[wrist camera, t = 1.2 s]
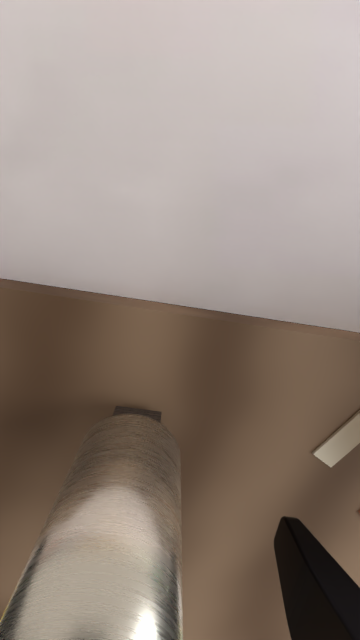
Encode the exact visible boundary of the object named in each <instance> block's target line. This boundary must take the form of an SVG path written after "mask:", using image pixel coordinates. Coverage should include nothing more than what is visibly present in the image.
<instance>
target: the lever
mask: <svg viewBox="0 0 360 640" xmlns="http://www.w3.org/2000/svg"><path fill="white" fill-rule="evenodd" d="M0 640H183V608H182V533H181V458H180V449H179V446H178V443H177V441H176V439H175V437H174V436H173V434H172V433H171V432H170V431H169V430H168V429H167V428H166V427H165V426H163V425H162V424H161V412H160V411H152V410H145V409H137V408H129V407H122V406H116V407H115V410H114V413H113V416H111V417H108V418H106V419H103V420H102V421H100V422H98V423H97V424H96V425H94V426H93V427H92V428H91V429H90V430H89V431H88V432H87V434H86V435H85V437H84V439H83V441H82V443H81V445H80V448H79V450H78V452H77V454H76V456H75V459H74V461H73V463H72V465H71V467H70V469H69V472H68V474H67V476H66V478H65V480H64V483H63V485H62V487H61V489H60V491H59V493H58V496H57V498H56V500H55V502H54V504H53V507H52V509H51V511H50V513H49V515H48V517H47V520H46V522H45V524H44V526H43V528H42V531H41V533H40V535H39V537H38V539H37V541H36V544H35V546H34V548H33V550H32V552H31V555H30V557H29V559H28V561H27V563H26V565H25V568H24V570H23V572H22V574H21V576H20V578H19V581H18V583H17V585H16V587H15V589H14V592H13V594H12V596H11V598H10V600H9V602H8V605H7V607H6V609H5V611H4V613H3V616H2V618H1V620H0Z"/></svg>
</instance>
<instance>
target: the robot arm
mask: <svg viewBox="0 0 360 640" xmlns="http://www.w3.org/2000/svg"><path fill="white" fill-rule="evenodd" d="M274 551H275V557H276V563H277V569H278V574H279V580H280V586H281V591H282V597H283V603H284V608H285V614H286V619H287V624H288V628H289V632H290V636H291V640H360V587H359V586H358V585H357V584H356V583H355V582H354V580H353V579H352V578H351V577H350V576H349V575H348V574H347V573H346V571H345V570H344V569H343V568H342V567H341V566H340V565H339V564H338V562H337V561H336V560H335V559H334V558H333V557H332V556H331V554H330V553H329V552H328V551H327V550H326V549H325V548H324V547H323V545H322V544H321V543H320V542H319V541H318V540H317V539H316V538H315V536H314V535H313V534H312V533H311V532H310V531H309V530H308V528H307V527H306V526H305V525H304V524H303V523H302V522H301V521H300V520H299V519H298V518H296V517H289V516H283V517H282V518H281V519H280V522H279V525H278V528H277V531H276V534H275V537H274Z"/></svg>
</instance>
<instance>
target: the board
mask: <svg viewBox="0 0 360 640" xmlns="http://www.w3.org/2000/svg"><path fill="white" fill-rule="evenodd" d="M116 406H122V407H129V408H137V409H145V410H152V411H160V412H161V424H162V425H163V426H165V427H166V428H167V429H168V430H169V431H170V432H171V433H172V434H173V436H174V437H175V439H176V441H177V443H178V446H179V449H180V458H181V533H182V608H183V640H291V636H290V632H289V628H288V624H287V619H286V614H285V608H284V603H283V597H282V591H281V586H280V580H279V574H278V569H277V563H276V557H275V551H274V537H275V534H276V531H277V528H278V525H279V522H280V519H281V518H282V517H283V516H289V517H296V518H298V519H299V520H300V521H301V522H302V523H303V524H304V525H305V526H306V527H307V528H308V530H309V531H310V532H311V533H312V534H313V535H314V536H315V538H316V539H317V540H318V541H319V542H320V543H321V544H322V545H323V547H324V548H325V549H326V550H327V551H328V552H329V553H330V554H331V556H332V557H333V558H334V559H335V560H336V561H337V562H338V564H339V565H340V566H341V567H342V568H343V569H344V570H345V571H346V573H347V574H348V575H349V576H350V577H351V578H352V579H353V580H354V582H355V583H356V584H357V585H358V586H359V587H360V333H357V332H350V331H344V330H337V329H331V328H324V327H317V326H311V325H304V324H298V323H291V322H284V321H278V320H271V319H264V318H258V317H251V316H245V315H238V314H231V313H225V312H218V311H212V310H205V309H198V308H192V307H185V306H179V305H172V304H165V303H159V302H152V301H145V300H139V299H132V298H126V297H119V296H112V295H106V294H99V293H93V292H86V291H79V290H73V289H66V288H60V287H53V286H46V285H40V284H33V283H26V282H20V281H13V280H7V279H0V620H1V618H2V616H3V613H4V611H5V609H6V607H7V605H8V602H9V600H10V598H11V596H12V594H13V592H14V589H15V587H16V585H17V583H18V581H19V578H20V576H21V574H22V572H23V570H24V568H25V565H26V563H27V561H28V559H29V557H30V555H31V552H32V550H33V548H34V546H35V544H36V541H37V539H38V537H39V535H40V533H41V531H42V528H43V526H44V524H45V522H46V520H47V517H48V515H49V513H50V511H51V509H52V507H53V504H54V502H55V500H56V498H57V496H58V493H59V491H60V489H61V487H62V485H63V483H64V480H65V478H66V476H67V474H68V472H69V469H70V467H71V465H72V463H73V461H74V459H75V456H76V454H77V452H78V450H79V448H80V445H81V443H82V441H83V439H84V437H85V435H86V434H87V432H88V431H89V430H90V429H91V428H92V427H93V426H94V425H96V424H97V423H98V422H100V421H102V420H103V419H106V418H108V417H111V416H113V413H114V410H115V407H116Z"/></svg>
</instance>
